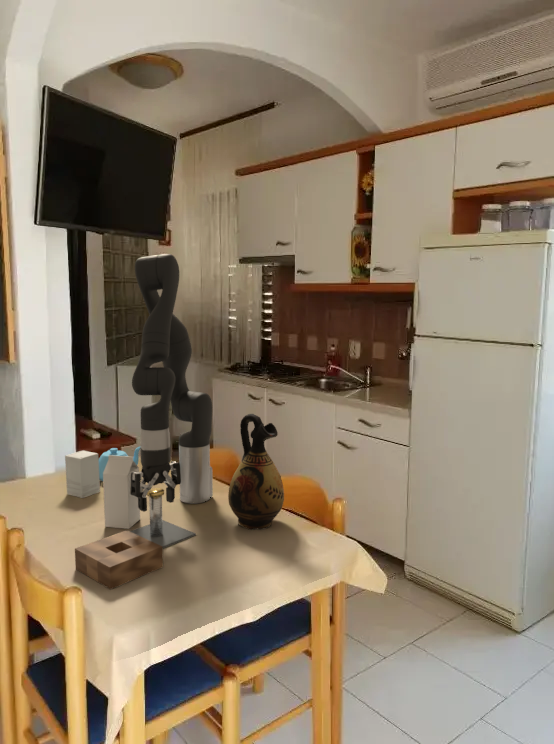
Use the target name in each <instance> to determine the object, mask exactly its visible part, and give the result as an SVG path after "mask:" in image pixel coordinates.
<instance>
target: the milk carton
mask: <svg viewBox="0 0 554 744" xmlns="http://www.w3.org/2000/svg"><path fill="white" fill-rule="evenodd" d="M133 457H134V456H129V455H128V456H113V455H109V460H108V462H107V465H106V467H105V470H104V472H103V482H102V483H103V505H104V506H103V508H104V509H103V510H104V511H103V512H104V527H106V528H107V527H108V528H114V529H115V528H116V529H125V530H127V529H128V530H129V529H131V528H132V527H133V526H134V525H135V524H136V523H137V522H139V521H140V519H141V510H140V509H139V508H138V497H136V496H133V495H131V494H130V488H131V473H132V472H140V467H139V466H138V465H136V463H135V462H134V461H133Z"/></svg>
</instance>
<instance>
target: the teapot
mask: <svg viewBox="0 0 554 744" xmlns="http://www.w3.org/2000/svg"><path fill="white" fill-rule="evenodd" d="M139 452H140V445H139V446H138V447H136V448H135V450H134V453H133V456H132V457H133V461H134V462H135V463H136V465H137V466H138V464H139V460H140V459H139V457H140V456H139ZM109 455H113V456H129V455H128V454H127V452H126V451H124V450H118V448H117V447H112V448H109V449H108V450H107V451H104V452H103V453H102V454H101V455H100V457H98V459H99V481H100V482H102V483H103V472H104V470H105V467H106V465H107V462H108V460H109Z"/></svg>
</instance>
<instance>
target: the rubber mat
mask: <svg viewBox="0 0 554 744" xmlns="http://www.w3.org/2000/svg"><path fill="white" fill-rule="evenodd" d="M162 522H163V535H162V536H160V537H152V536H150V523H149V524H147V525H144V526H141V527H138V528H134V529H133V530H129V531H130V532H132V533H134V534H136V535H138V536H141V537H143V538H145V539H147V540H149V541H152V542H154V543H156V544H158V545H160V546H162V547H163V549H165V548H168V547H171V546H173V545H175V544H178V543H181V542H183V541H186V540H188V539H189V538H192V537H194V536H195V537H196V535H197V534H196V532H194V531H191V530H188V529H186V528H184V527H182V526H178V525H176V524H174V523H171V522H169V521H166V520H164V519H162Z"/></svg>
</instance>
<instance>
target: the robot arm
mask: <svg viewBox="0 0 554 744" xmlns="http://www.w3.org/2000/svg"><path fill="white" fill-rule="evenodd" d="M134 262H135V263H134V273H135V278H136V281H137V285H138V288H139V290H140V293H141V296H142V298H143V299H142V300H143V302H144V304H145V307H146V309H147V312H148V313H147V314H148V317H147V318H146V320H145V322H144V325H143V328H142V334H141V335H142V336H141V350H140V355H139V358H138V362H137V365H136V367H135V369H134V372H133V374H132V378H131V379H132V380H131V387H132V389H133V391H134V393H136V395H138V396H160V399H159V400H158V401H157V402H153V403H148V404H144V405H143V406H141V408H140V434H139V442H140V443H139V446H140V450H139V452H140V464H141V471H139V472H132V473H131V488H130V494H131V495H133V496H136V497H138V508H139V509H140V512H143V513H145V512H147V511H148V499H147V498H148V496H147V493H148V491H149V490H151V489H152V488H153V486H157V485H158V484H165V486H166V488H165V496H166V497H165V499H166V502H168V503H174V502H175V497H176V494H175V493H176V492H175V491H176V490H175V489H176V487H177V486H178V485H179V500H180V501H181V502H183V503H185V504H201V503H205V501H206V502H207V501H210V499H211V498H212V496H213V494H214V493H213V489H214V488H213V467H212V466H211V457H210V454H211V451H210V449H211V448H210V446H211V445H210V443H211V442H210V441H211V440H210V438H211V435H212V427H213V425H212V423H213V422H212V420H213V402H212V398H211V396H210V395H209V394H208V393H206V392H201V391H193V390H191V391H190V389H189V386H188V383H187V378H186V373H187V370H188V366H189V364H190V361H191V357H192V354H193V350H192V344H191V340H190V337H189V332H188V329H187V327H186V326H185V325H184V324H183V322H182V321H181V320H180V319H179V318H178V317H177V316H176V315H175V314H174V310H175V304H176V300H177V295H178V289H179V283H180V267H179V264H178V263H179V262H178V260H177V259H176V257H175V256H174V255H173V254H171V253H163V254H162V253H161V254H156V255H148V256H142V257H138V258H137V259H136V261H134ZM160 290H161V295H160V293H159V292H158V291H160ZM158 363H162V367H161V366H160V367H159V366H158V367H157V366H154V367H151V366H152V365H154V364H158ZM170 405H171V410H172V412H173V413H172V414H173V415H174V417H175V418H176V419H177V420H179V421H183V422H188V423H191V430H189V431H186V432H183V433H181V434H180V435H179V437H178V458H179V459H178V462H176V461H173V460H172V458H171V456H172V455H171V451H172V450H171V433H170ZM169 473H170V474H169ZM146 483H147V484H146ZM210 497H211V498H210Z"/></svg>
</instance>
